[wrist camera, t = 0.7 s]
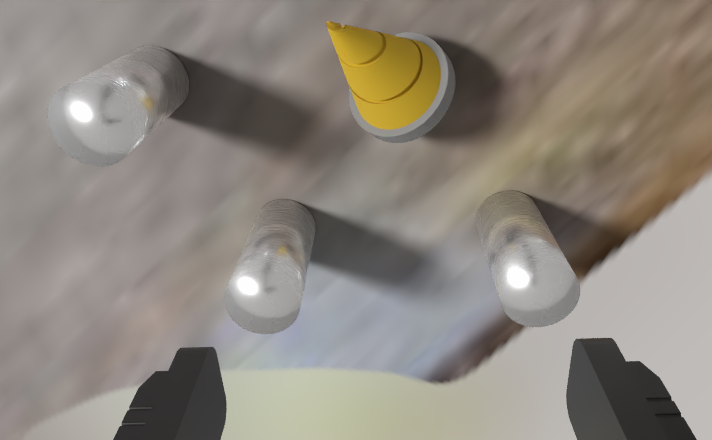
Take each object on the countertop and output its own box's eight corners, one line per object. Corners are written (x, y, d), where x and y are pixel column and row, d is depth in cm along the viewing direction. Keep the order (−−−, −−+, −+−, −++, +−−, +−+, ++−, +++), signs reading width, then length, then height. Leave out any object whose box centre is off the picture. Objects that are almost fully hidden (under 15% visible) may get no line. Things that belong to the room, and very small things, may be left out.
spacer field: (68, -155, 27) (-42, -183, 20) (573, -191, 26) (648, -235, 19) (162, 257, 37) (110, 337, 30) (535, 244, 36) (575, 325, 28)
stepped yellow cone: (368, 144, 34) (255, 72, 25) (404, 56, 34) (303, -46, 25) (451, 171, 31) (354, 99, 22) (490, 75, 31) (409, -33, 22)
